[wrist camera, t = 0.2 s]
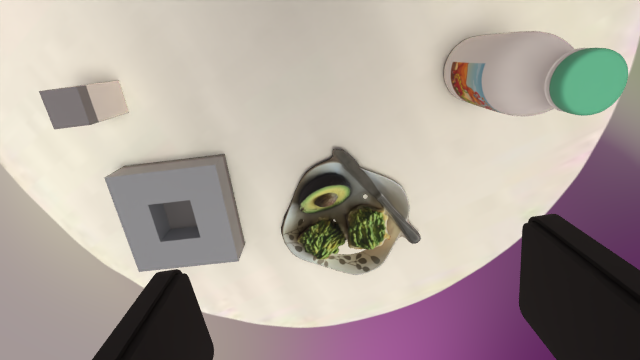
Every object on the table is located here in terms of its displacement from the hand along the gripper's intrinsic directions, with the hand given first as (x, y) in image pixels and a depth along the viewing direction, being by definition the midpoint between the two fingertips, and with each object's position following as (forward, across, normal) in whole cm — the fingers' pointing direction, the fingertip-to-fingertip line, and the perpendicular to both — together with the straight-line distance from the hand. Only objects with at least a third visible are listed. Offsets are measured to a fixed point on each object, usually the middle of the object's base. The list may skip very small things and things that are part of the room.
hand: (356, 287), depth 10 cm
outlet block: (+36, +22, +11) cm, 44 cm away
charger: (+36, +27, -5) cm, 46 cm away
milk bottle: (+37, -19, -1) cm, 41 cm away
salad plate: (+37, 0, +16) cm, 40 cm away
